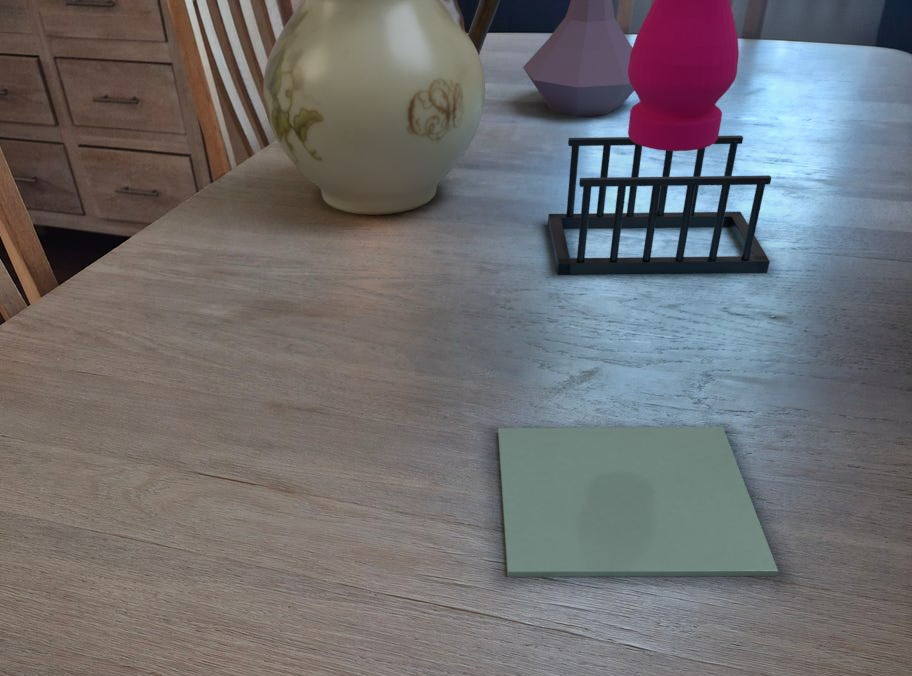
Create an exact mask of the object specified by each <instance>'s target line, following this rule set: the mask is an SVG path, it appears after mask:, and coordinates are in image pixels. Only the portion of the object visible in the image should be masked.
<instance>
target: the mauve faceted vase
mask: <svg viewBox="0 0 912 676" xmlns="http://www.w3.org/2000/svg"><path fill="white" fill-rule="evenodd" d="M632 48H633V45H631V43H630V42H629V39H628V38H627V36H626V34H625V33H624V31H623V30H622V28H621V26H620V24H619V23H618V21H617V19H616V17H615V11H614V3H613V0H570V2H569V6H568V9H567V12H566V15H565V16H564V18H563V19H562V20H561V22H560V23H559V25H558V26H556V28H555V29H554V30H553V32H552V33H551V35H550V36H549V37H548V39H547V40H546V41H545V42H544V43H543V44H542V45H541V46H540V48H539V49H538V50H537V51H536V52H535V53H534V55H532V56H531V58H530V59H529V60H528V61H527V62H526V63H525V64H524V65H523V66H522V68H523V70H524V71H525V73H526V75H527V77H529V80H531V82H532V84H533V85H534V86H535V88H536V90H537V92H538V93H539V94H540V96H541V97H542V99H543V101H544V102H545V103H546V105H547V107H549V108H550V110H551V111H552V112H553V113H556V114H561V115H565V116H572V117H578V118H579V117H596V116H607V115H608V114H610V113H613V112H614V111H616V110H618V109H620V108H621V107H622V105H623V104H624V103H625V102H626V101H627V100H628V98H629V97H630V96H631V95H632V94H633V93H634V92H635V91H634V89H633V87H632V85H631V83H630V81H629V77H628V66H629V61H630V55H631V51H632Z"/></svg>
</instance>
